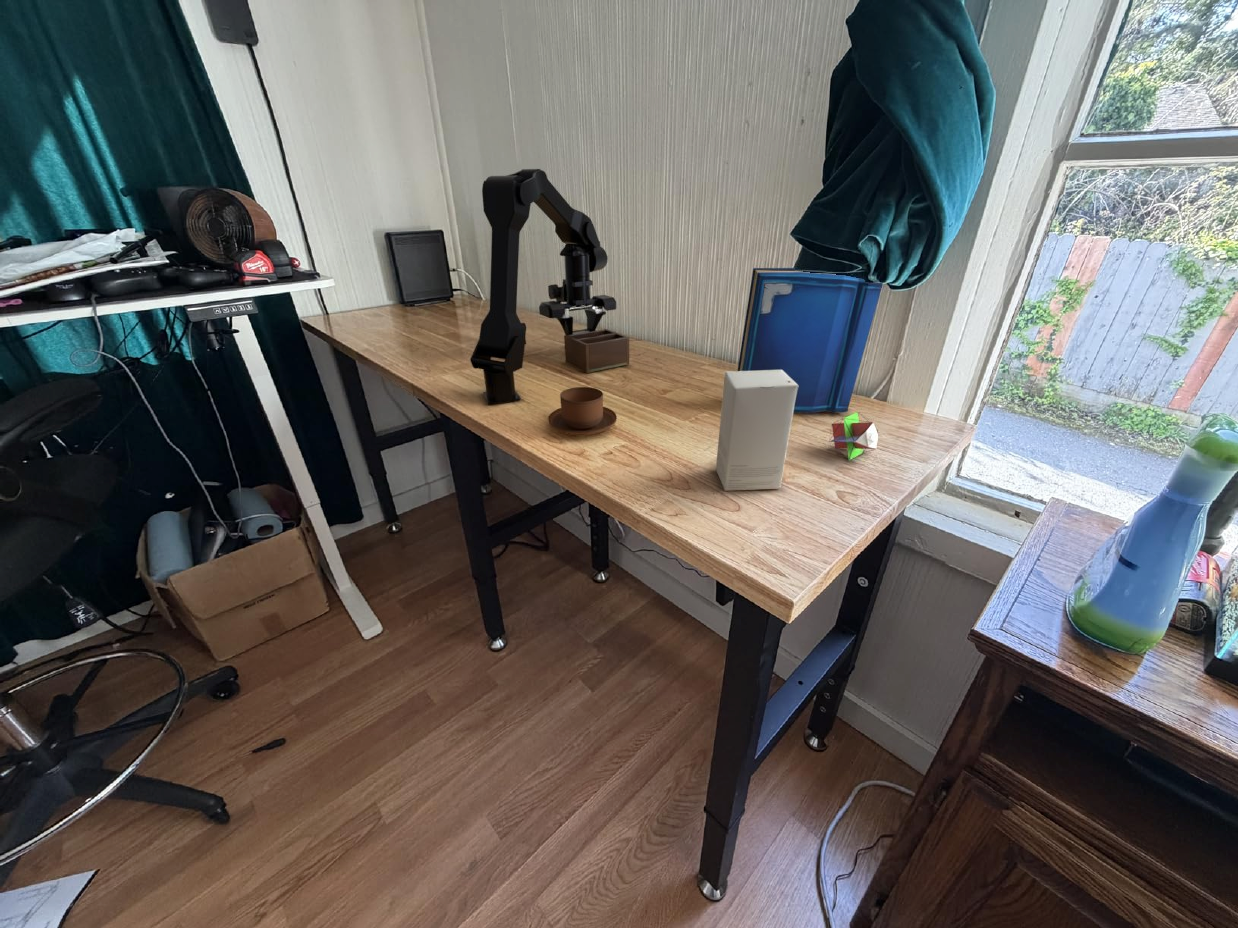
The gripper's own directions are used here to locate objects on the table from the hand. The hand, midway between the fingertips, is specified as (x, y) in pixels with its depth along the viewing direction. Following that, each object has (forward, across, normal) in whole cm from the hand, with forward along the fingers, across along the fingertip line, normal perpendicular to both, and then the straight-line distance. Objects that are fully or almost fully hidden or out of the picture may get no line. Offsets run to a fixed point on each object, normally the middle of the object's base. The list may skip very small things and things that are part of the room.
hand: (580, 341), depth 123 cm
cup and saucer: (+4, +22, +38) cm, 44 cm away
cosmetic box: (+4, +12, +67) cm, 68 cm away
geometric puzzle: (+4, -8, +70) cm, 71 cm away
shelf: (+4, 0, +6) cm, 7 cm away
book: (+4, -16, +52) cm, 55 cm away
